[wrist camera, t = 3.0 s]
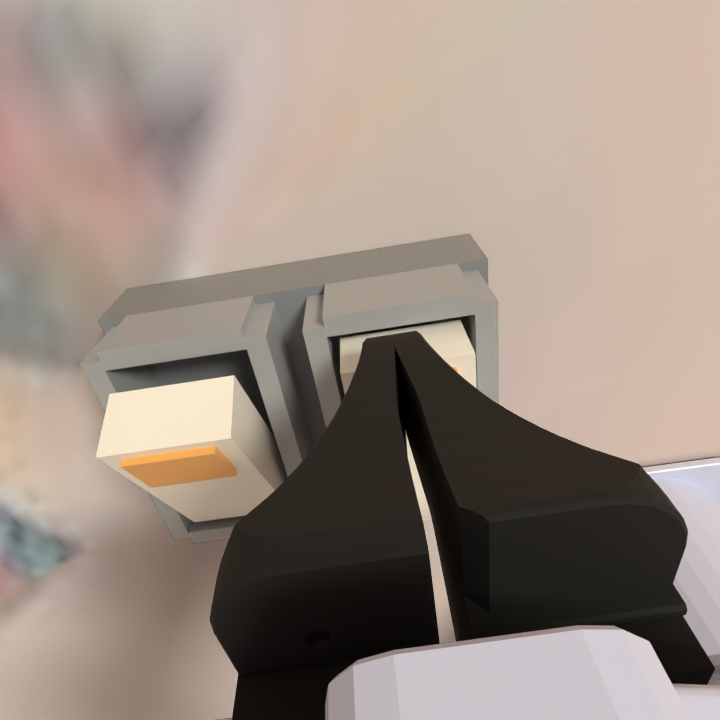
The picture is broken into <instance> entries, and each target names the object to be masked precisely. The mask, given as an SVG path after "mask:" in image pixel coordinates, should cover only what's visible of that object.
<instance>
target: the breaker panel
mask: <svg viewBox="0 0 720 720" xmlns="http://www.w3.org/2000/svg"><path fill="white" fill-rule="evenodd" d="M455 320H461V322H462V325H463V327H464V329H465V331H466V334H467V336H468V338H469V340H470V343H471V345H472V347H473V349H474V352H475V357H476V388H477V389H478V390H479V391H480V392H482V393H483V394H485V395H486V396H487V397H489V398H490V399H491V400H493V401H494V402H496V403H498V404H499V388H498V300H497V299H496V297H495V296H494V294H493V293H492V291H491V289H490V288H489V286H488V258H487V257H486V256H485V254H484V253H483V252H482V250H481V249H480V247H479V246H478V245H477V243H476V242H475V241H474V239H473V238H472V236H471V235H470V234H466V235H460V236H453V237H447V238H441V239H435V240H429V241H422V242H416V243H410V244H404V245H398V246H391V247H385V248H379V249H373V250H367V251H360V252H354V253H348V254H342V255H335V256H329V257H323V258H317V259H311V260H304V261H298V262H292V263H286V264H280V265H273V266H267V267H261V268H255V269H249V270H242V271H236V272H230V273H224V274H218V275H211V276H205V277H199V278H193V279H186V280H180V281H174V282H168V283H162V284H155V285H149V286H143V287H137V288H131V289H126V290H125V292H124V293H123V294H122V295H121V296H120V297H119V298H118V299H117V300H116V301H115V302H114V303H113V305H112V306H111V307H110V308H109V309H108V310H107V311H106V312H105V313H104V314H103V315H102V317H101V318H100V319H99V320H98V322H99V324H100V326H101V328H102V330H103V332H104V334H105V336H104V337H103V338H102V339H101V340H100V341H99V343H98V344H97V345H96V346H95V347H94V348H93V350H92V351H91V352H90V353H89V354H88V356H87V357H86V358H85V359H84V360H83V361H82V363H81V364H80V367H81V369H82V371H83V373H84V374H85V376H86V378H87V380H88V382H89V384H90V385H91V387H92V389H93V391H94V393H95V395H96V397H97V398H98V400H99V402H100V404H101V406H102V408H103V410H104V411H105V412H106V407H107V403H108V398H109V394H113V393H119V392H126V391H133V390H139V389H146V388H153V387H159V386H166V385H173V384H179V383H186V382H193V381H199V380H206V379H213V378H219V377H226V376H233V375H234V376H235V377H236V379H237V380H238V382H239V383H240V385H241V386H242V388H243V390H244V391H245V393H246V394H247V396H248V397H249V399H250V400H251V402H252V403H253V405H254V406H255V408H256V409H257V411H258V412H259V414H260V415H261V417H262V418H263V420H264V422H265V423H266V425H267V426H268V428H269V429H270V431H271V432H272V434H273V435H274V437H275V439H276V442H277V445H278V448H279V451H280V454H281V457H282V461H283V464H284V467H285V470H286V473H287V476H289V475H290V474H291V473H292V472H293V471H294V470H295V469H296V468H297V467H298V466H299V464H300V463H301V462H302V461H303V460H304V458H305V457H306V456H307V455H308V453H309V452H310V451H311V449H312V448H313V447H314V445H315V444H316V443H317V441H318V440H319V439H320V437H321V436H322V434H323V433H324V431H325V430H326V428H327V427H328V425H329V424H330V422H331V420H332V419H333V417H334V415H335V414H336V412H337V410H338V408H339V406H340V404H341V402H342V400H343V398H344V396H345V394H344V389H343V384H342V380H341V375H340V338H343V337H350V336H356V335H363V334H369V333H376V332H383V331H389V330H396V329H402V328H409V327H415V326H422V325H428V324H435V323H442V322H448V321H455ZM148 493H149V492H148ZM149 495H150V497H151V499H152V500H153V502H154V504H155V506H156V508H157V510H158V511H159V513H160V515H161V517H162V519H163V521H164V523H165V524H166V526H167V528H168V530H169V532H170V534H171V536H172V537H173V539H174V541H175V540H183V539H190V538H191V540H192V542H193V544H197V543H204V542H212V541H219V540H227V539H229V538H230V535H231V532H232V530H233V527H234V525H235V524H236V523H237V522H238V521H240V520H241V519H242V518H243V517H245V516H238V517H231V518H223V519H216V520H208V521H201V522H193V521H192V520H190V519H189V518H187V517H186V516H184V515H183V514H181V513H179V512H178V511H176V510H175V509H173V508H172V507H170V506H169V505H167V504H166V503H164V502H163V501H161V500H160V499H158V498H157V497H155V496H154V495H152V494H151V493H149Z"/></svg>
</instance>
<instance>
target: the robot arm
mask: <svg viewBox="0 0 720 720" xmlns="http://www.w3.org/2000/svg"><path fill="white" fill-rule="evenodd" d="M406 435H407V438H408V441H409V445H410V448H411V451H412V455H413V458H414V461H415V464H416V468H417V471H418V474H419V477H420V481H421V484H422V487H423V490H424V494H425V497H426V500H427V503H428V507H429V510H430V514H431V518H432V522H433V526H434V531H435V536H436V541H437V546H438V551H439V556H440V561H441V566H442V571H443V576H444V581H445V586H446V591H447V596H448V602H449V607H450V612H451V617H452V622H453V627H454V633H455V638H456V642H450V643H442V644H440V643H439V635H438V626H437V618H436V610H435V601H434V593H433V584H432V576H431V567H430V559H429V551H428V545H427V540H426V535H425V530H424V525H423V520H422V515H421V511H420V507H419V504H418V499H417V495H416V491H415V487H414V483H413V479H412V474H411V470H410V465H409V461H408V454H407V441H406ZM210 623H211V625H212V628H213V631H214V634H215V635H216V637H217V639H218V640H219V642H220V644H221V645H222V647H223V649H224V650H225V652H226V654H227V655H228V657H229V659H230V660H231V662H232V664H233V665H234V667H235V669H236V670H237V672H238V673H239V674H238V681H237V688H236V695H235V702H234V710H233V717H232V718H226V719H218V720H720V457H718V458H710V459H703V460H695V461H688V462H680V463H673V464H665V465H658V466H650V467H643V468H642V467H641V466H640V465H639V464H637V463H634V462H631V461H628V460H624V459H621V458H618V457H615V456H612V455H609V454H606V453H603V452H600V451H597V450H593V449H590V448H588V447H585V446H583V445H580V444H578V443H575V442H573V441H570V440H568V439H565V438H563V437H560V436H558V435H556V434H554V433H551V432H549V431H547V430H545V429H543V428H540V427H539V426H537V425H535V424H533V423H531V422H529V421H527V420H525V419H523V418H521V417H519V416H517V415H516V414H514V413H512V412H510V411H509V410H507V409H505V408H504V407H502V406H501V405H499V404H498V403H496V402H494V401H493V400H491V399H490V398H489V397H487V396H486V395H485V394H483V393H482V392H480V391H479V390H478V389H477V388H475V387H474V386H473V385H472V384H470V383H469V382H468V381H467V380H465V379H464V378H463V377H462V376H461V375H460V374H459V373H457V372H456V371H455V370H454V369H453V368H452V367H451V366H450V365H449V364H448V363H447V362H446V361H445V360H444V359H443V358H442V357H441V356H440V355H439V354H438V353H437V352H436V351H435V350H434V349H433V348H432V347H431V346H430V345H429V343H428V342H427V341H426V340H425V339H424V337H423V336H422V335H421V334H420V333H419V332H417V331H410V332H404V333H397V334H391V335H385V336H378V337H372V338H366V339H365V341H364V342H363V343H362V350H361V355H360V358H359V362H358V365H357V368H356V371H355V373H354V376H353V378H352V381H351V383H350V386H349V388H348V390H347V392H346V394H345V396H344V398H343V400H342V402H341V404H340V406H339V408H338V410H337V412H336V414H335V415H334V417H333V419H332V420H331V422H330V424H329V425H328V427H327V428H326V430H325V431H324V433H323V434H322V436H321V437H320V439H319V440H318V441H317V443H316V444H315V445H314V447H313V448H312V449H311V451H310V452H309V453H308V455H307V456H306V457H305V458H304V460H303V461H302V462H301V463H300V464H299V466H298V467H297V468H296V469H295V470H294V471H293V472H292V473H291V474H290V475H289V476H288V477H287V478H286V480H285V481H284V482H283V483H282V484H281V485H280V486H279V487H278V488H277V489H276V490H275V491H274V492H273V493H272V494H270V495H269V496H268V497H267V498H266V499H265V500H264V501H262V502H261V503H260V504H259V505H258V506H256V507H255V508H254V509H253V510H252V511H250V512H249V513H248V514H247V515H246V516H245V517H243V518H242V519H241V520H240V521H238V522H237V523H236V524H235V525H234V527H233V530H232V532H231V535H230V538H229V541H228V543H227V546H226V549H225V552H224V555H223V558H222V561H221V564H220V568H219V571H218V575H217V581H216V586H215V591H214V597H213V602H212V608H211V614H210Z"/></svg>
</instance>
